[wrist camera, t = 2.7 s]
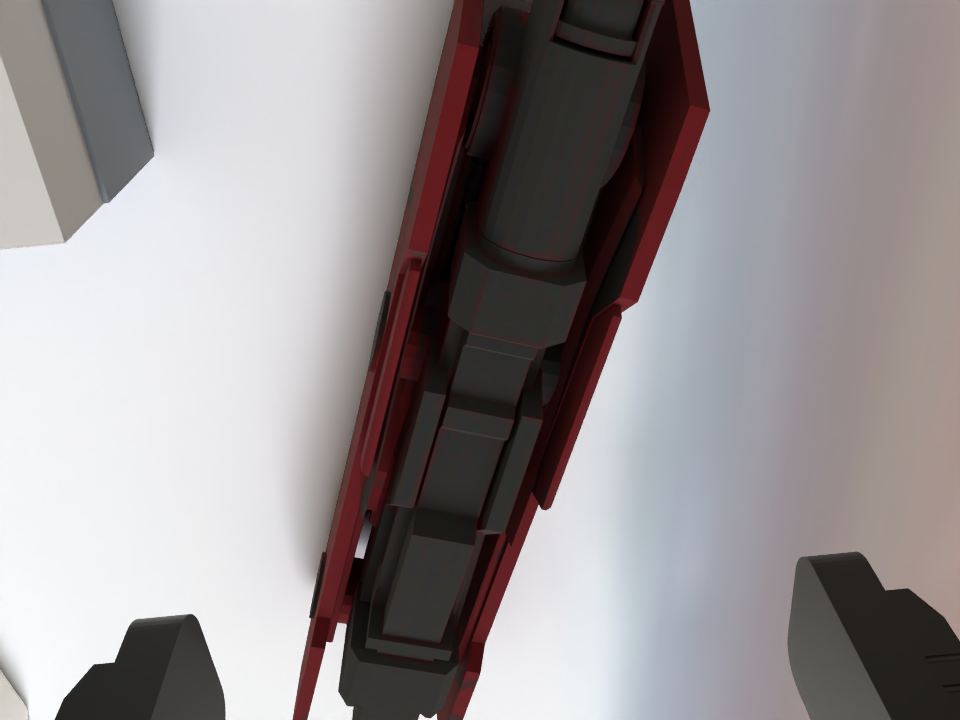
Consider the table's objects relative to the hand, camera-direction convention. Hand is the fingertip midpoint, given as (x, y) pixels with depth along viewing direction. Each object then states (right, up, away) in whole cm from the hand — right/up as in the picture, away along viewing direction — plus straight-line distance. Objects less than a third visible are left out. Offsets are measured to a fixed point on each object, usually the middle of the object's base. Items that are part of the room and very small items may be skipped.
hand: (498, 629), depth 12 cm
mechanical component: (0, +5, +10) cm, 11 cm away
